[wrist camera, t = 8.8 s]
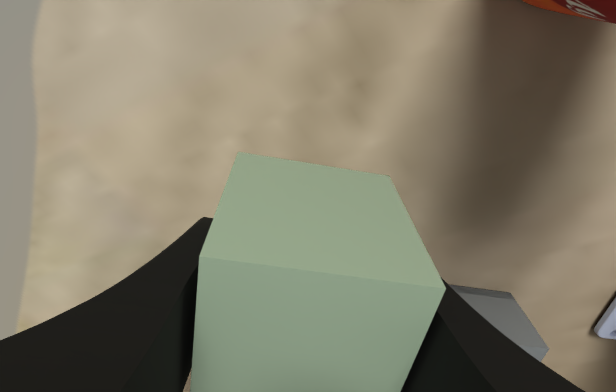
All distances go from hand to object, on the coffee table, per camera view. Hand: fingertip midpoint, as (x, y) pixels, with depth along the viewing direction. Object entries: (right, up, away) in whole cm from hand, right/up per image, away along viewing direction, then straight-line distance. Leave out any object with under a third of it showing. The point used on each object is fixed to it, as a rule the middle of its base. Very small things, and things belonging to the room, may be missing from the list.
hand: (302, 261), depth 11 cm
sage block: (0, +1, +1) cm, 2 cm away
